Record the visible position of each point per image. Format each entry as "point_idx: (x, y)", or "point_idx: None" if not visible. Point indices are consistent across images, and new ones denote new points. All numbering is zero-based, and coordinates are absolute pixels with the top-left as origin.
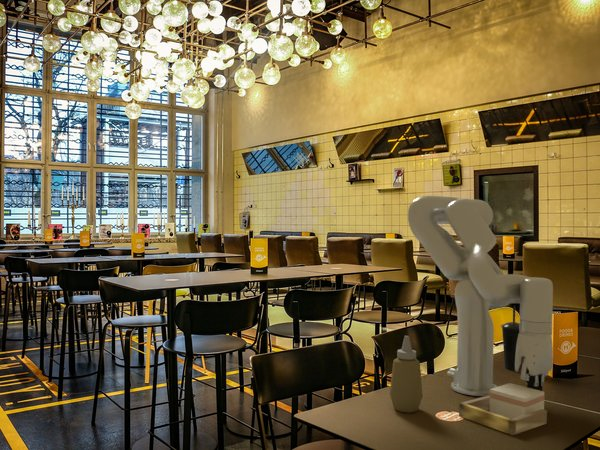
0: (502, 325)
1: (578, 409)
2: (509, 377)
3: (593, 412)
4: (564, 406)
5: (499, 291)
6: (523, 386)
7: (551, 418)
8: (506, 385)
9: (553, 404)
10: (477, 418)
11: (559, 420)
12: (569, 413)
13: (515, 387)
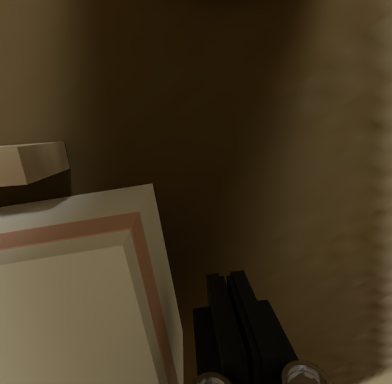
0: None
1: (376, 335)
2: None
3: (383, 371)
4: (371, 294)
5: None
6: (153, 368)
7: (186, 356)
8: (11, 292)
9: (362, 260)
10: None
11: (193, 377)
12: (301, 348)
13: (56, 360)
